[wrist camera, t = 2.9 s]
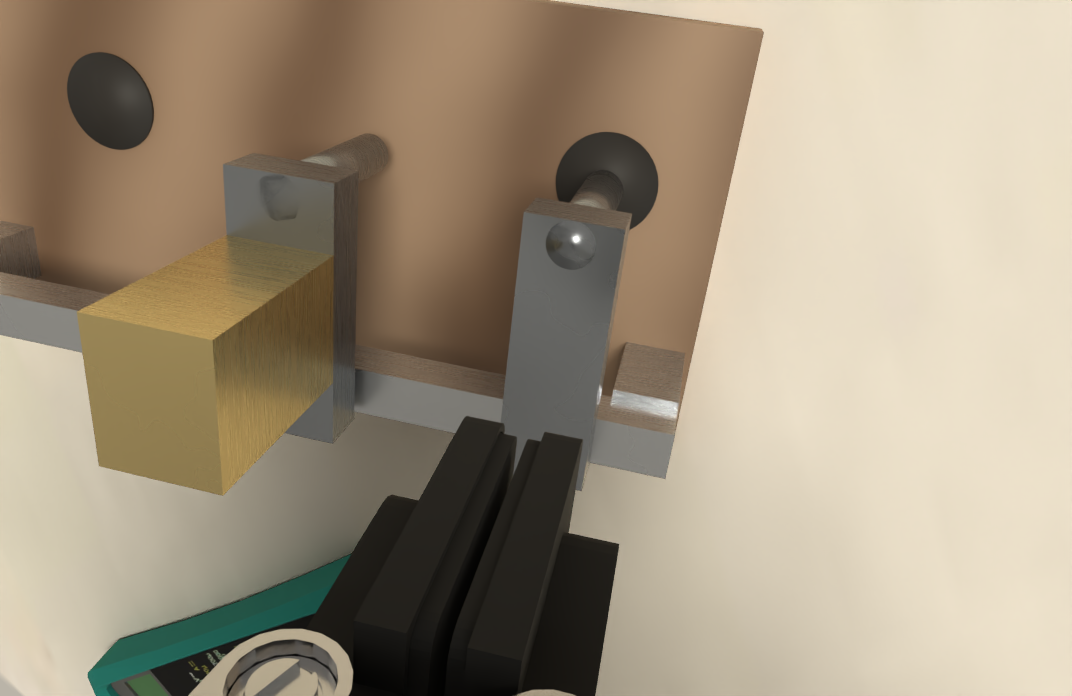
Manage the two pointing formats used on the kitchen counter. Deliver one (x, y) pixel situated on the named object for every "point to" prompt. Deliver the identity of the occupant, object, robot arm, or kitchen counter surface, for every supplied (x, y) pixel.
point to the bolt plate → (400, 186)
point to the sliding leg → (237, 328)
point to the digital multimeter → (207, 639)
